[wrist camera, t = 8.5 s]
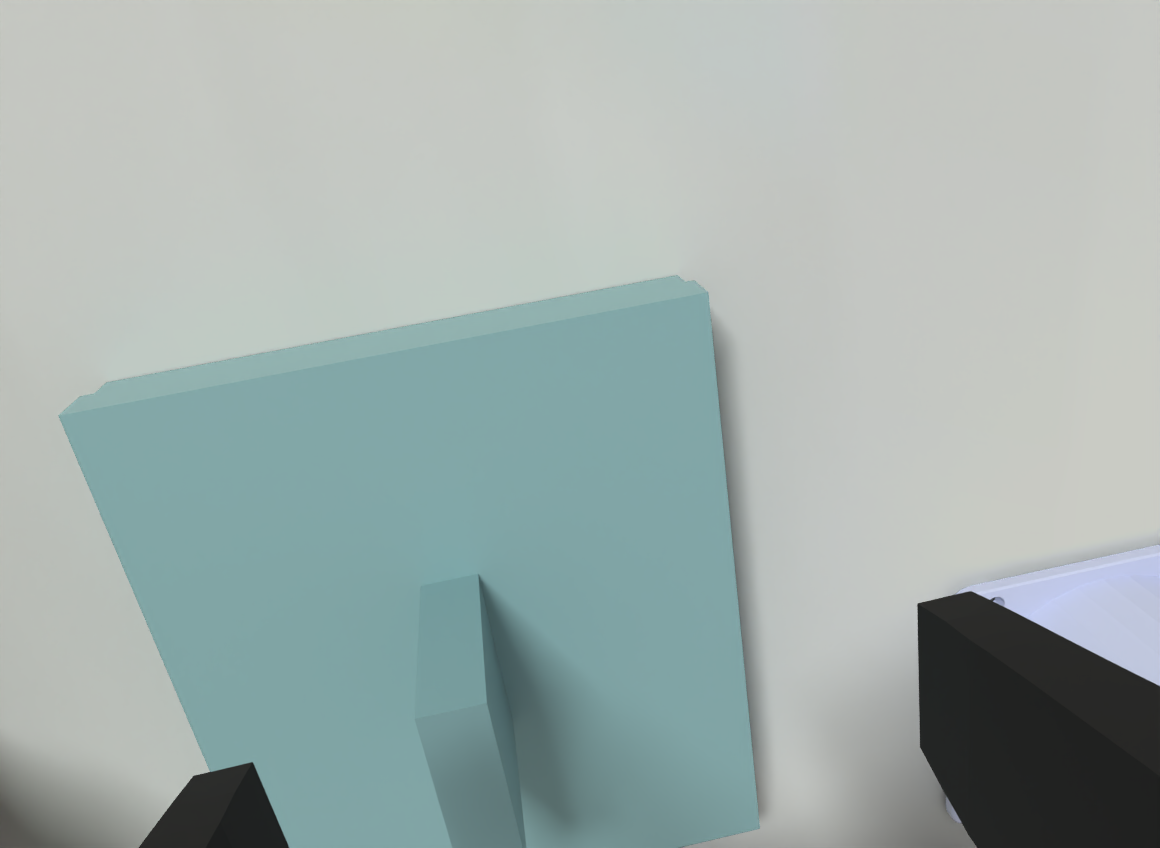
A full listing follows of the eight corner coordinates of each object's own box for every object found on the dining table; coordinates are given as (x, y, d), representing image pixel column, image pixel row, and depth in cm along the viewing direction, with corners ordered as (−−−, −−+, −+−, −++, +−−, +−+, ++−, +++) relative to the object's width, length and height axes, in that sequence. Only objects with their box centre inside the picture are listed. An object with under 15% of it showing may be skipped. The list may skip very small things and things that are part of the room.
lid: (681, 269, 18) (784, 356, 13) (735, 769, 24) (822, 980, 18) (98, 378, 17) (-61, 522, 12) (295, 871, 23) (247, 1126, 17)
